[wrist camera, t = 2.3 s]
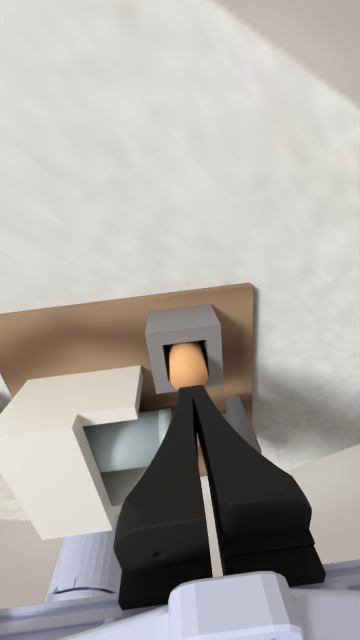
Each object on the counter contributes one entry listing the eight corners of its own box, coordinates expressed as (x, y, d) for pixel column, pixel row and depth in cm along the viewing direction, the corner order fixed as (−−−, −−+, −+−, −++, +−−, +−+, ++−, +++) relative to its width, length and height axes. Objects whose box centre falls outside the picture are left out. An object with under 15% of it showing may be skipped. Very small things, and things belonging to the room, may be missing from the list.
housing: (219, 449, 27) (234, 513, 21) (68, 469, 26) (42, 539, 21) (210, 303, 20) (228, 340, 14) (5, 329, 20) (-60, 377, 14)
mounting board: (248, 461, 29) (251, 469, 28) (64, 486, 29) (61, 495, 28) (249, 282, 20) (253, 286, 19) (-18, 316, 20) (-26, 321, 19)
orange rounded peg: (200, 356, 20) (209, 389, 16) (170, 360, 20) (172, 394, 16) (198, 329, 19) (206, 358, 15) (166, 333, 19) (167, 363, 15)
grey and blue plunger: (236, 426, 25) (259, 495, 19) (71, 447, 25) (41, 525, 19) (235, 387, 23) (261, 450, 17) (56, 410, 23) (16, 483, 17)
